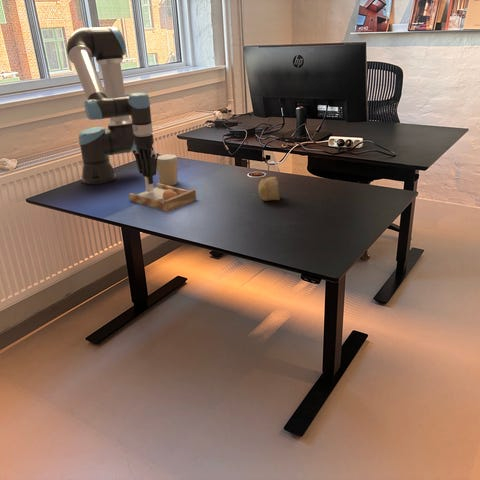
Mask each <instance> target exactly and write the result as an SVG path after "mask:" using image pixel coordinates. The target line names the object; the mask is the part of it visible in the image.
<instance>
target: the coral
mask: <svg viewBox="0 0 480 480" xmlns="http://www.w3.org/2000/svg"><path fill="white" fill-rule="evenodd" d="M257 188H258V195H259V196H260V198H261V199H262V200H263V201H264V202H265V201H266V202H267V201H268V202H269V201H280V200H281V199H280V191H279V188H280V187H279V182H278V180H277V176H271V177H270V176H269V177H266V178H263V179H261V180H260V182H259V183H258V186H257Z"/></svg>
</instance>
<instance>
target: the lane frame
mask: <svg viewBox="0 0 480 480" xmlns="http://www.w3.org/2000/svg"><path fill="white" fill-rule="evenodd" d="M156 187H159V188H162V189H166V190H168V189H170V190H172V191H174V192H177V196H175V197H172V198H170V199H167V200H165V201H164V202H161V201H158V200H154V199H151V198H147V197H143V196H140V195H137V194H136V193H134V192H133V193H132V192H130V193H128V196H129V201H130V202H134V203H137V204H140V205H142V206H143V205H144V206H146V207H150V208H153V209H157V210H161V211H164V212H167V213H168V212H170V211H172V210H175V209H177V208H180V207H182V206H185V205H186V204H188V203H192V202H194V201H196V200H197V194H196V193H197V192H196V189H190V190H188V189H183V188H179V187H175V186H173V185H170V186H168V185H164V184H160V182H158V183H156Z"/></svg>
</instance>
